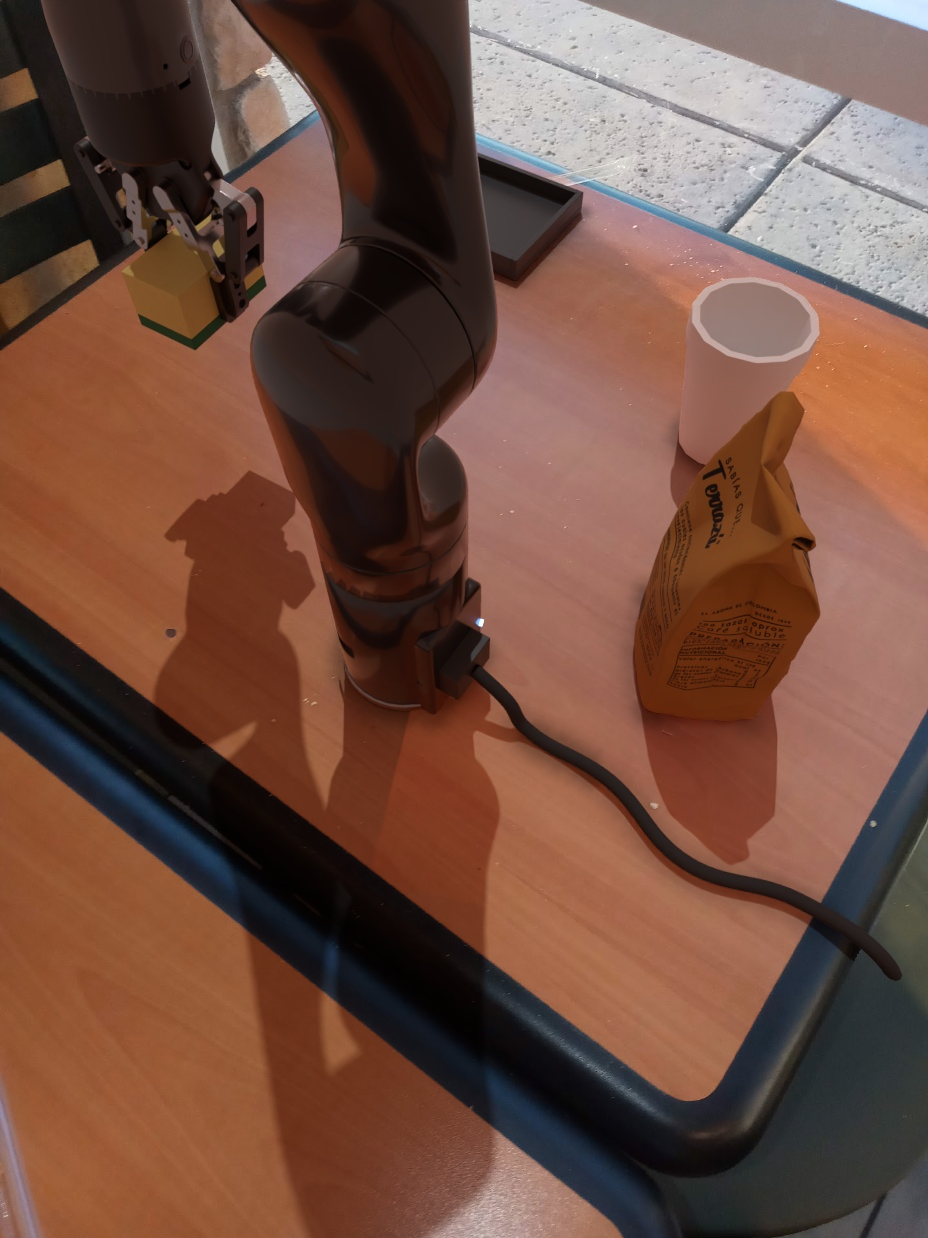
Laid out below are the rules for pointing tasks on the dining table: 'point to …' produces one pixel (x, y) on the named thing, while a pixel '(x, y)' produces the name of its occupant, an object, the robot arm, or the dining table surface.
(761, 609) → the coffee package
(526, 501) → the dining table surface
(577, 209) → the tray
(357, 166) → the robot arm
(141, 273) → the sponge
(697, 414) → the foam cup
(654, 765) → the dining table surface
